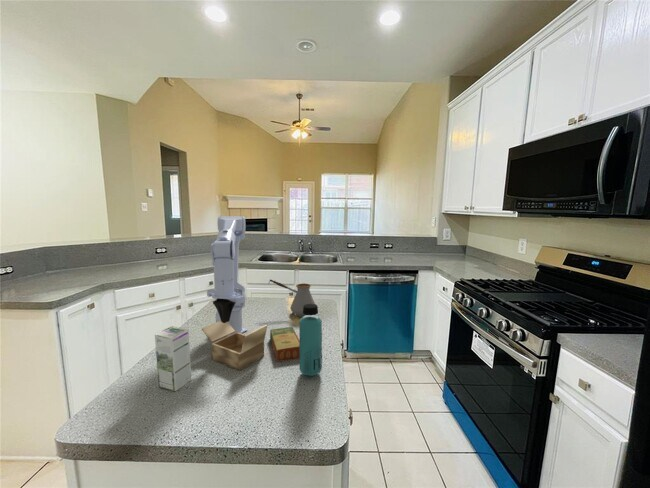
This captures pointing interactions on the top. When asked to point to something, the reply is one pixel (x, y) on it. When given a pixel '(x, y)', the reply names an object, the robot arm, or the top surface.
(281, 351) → the carton
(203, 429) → the top surface
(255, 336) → the flap
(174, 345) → the syrup box
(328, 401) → the top surface
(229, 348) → the cardboard box
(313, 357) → the beverage bottle
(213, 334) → the flap
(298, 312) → the coffee pot
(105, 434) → the top surface
